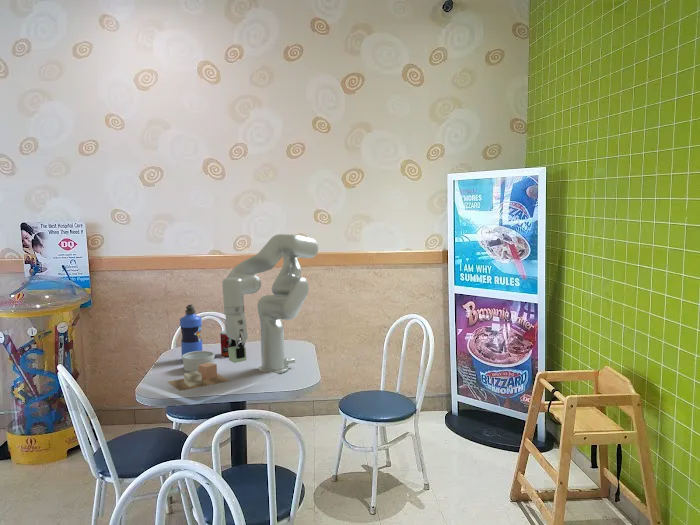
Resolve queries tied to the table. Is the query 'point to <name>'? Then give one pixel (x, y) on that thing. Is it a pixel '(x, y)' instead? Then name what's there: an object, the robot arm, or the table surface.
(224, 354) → the canned food
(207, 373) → the terracotta block
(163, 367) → the table surface
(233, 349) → the green block
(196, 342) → the water bottle
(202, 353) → the ramekin
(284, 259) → the robot arm
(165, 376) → the table surface
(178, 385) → the build board
